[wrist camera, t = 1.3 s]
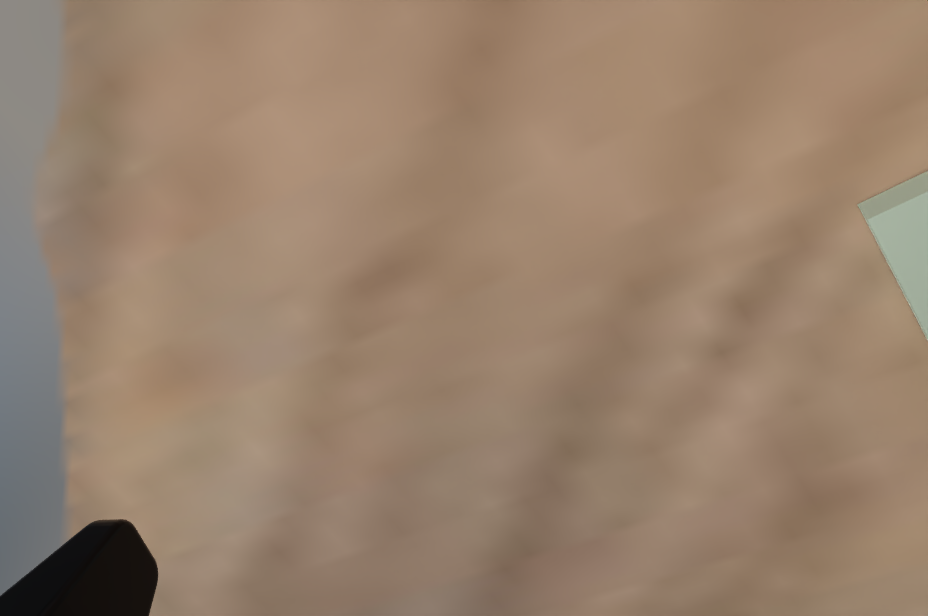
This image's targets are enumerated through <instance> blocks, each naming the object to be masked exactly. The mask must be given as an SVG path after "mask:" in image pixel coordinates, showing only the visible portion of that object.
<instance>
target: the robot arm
mask: <svg viewBox="0 0 928 616" xmlns="http://www.w3.org/2000/svg"><path fill="white" fill-rule="evenodd" d="M157 581H158V568H157V564H156V561H155V559H154V557H153V556H152V554H151V553H150V551H149V549H148V548H147V546H146V544H145V543H144V541H143V540H142V538H141V536H140V535H139V533H138V531H137V530H136V528H135V527H134V525H133V524H132V523H131V522H129V521H127V520H123V519H119V520H98V521H94V522H92V523H90V524H89V525H87V526H86V527H85V528H83V529H82V530H81V531H80V532H78V533H77V534H76V535H75V536H73V537H72V538H71V539H70V540H69V541H67V542H66V543H65V544H64V545H62V546H61V547H60V548H59V549H57V550H56V551H55V552H54V553H53V554H51V555H50V556H49V557H48V558H46V559H45V560H44V561H43V562H41V563H40V564H39V565H38V566H36V567H35V568H34V569H33V570H32V571H30V572H29V573H28V574H27V575H25V576H24V577H23V578H22V579H21V580H19V581H18V582H17V583H16V584H14V585H13V586H12V587H11V588H9V589H8V590H7V591H6V592H4V593H3V594H2V595H1V596H0V616H149V613H150V609H151V605H152V601H153V598H154V594H155V590H156V586H157Z"/></svg>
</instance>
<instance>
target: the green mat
mask: <svg viewBox="0 0 928 616" xmlns="http://www.w3.org/2000/svg"><path fill="white" fill-rule="evenodd" d="M857 205H858V207H859V209H860V210H861V212H862V214H863V216H864V218H865V220H866V222H867V224H868V226H869V228H870V230H871V232H872V234H873V236H874V238H875V240H876V242H877V243H878V245H879V247H880V249H881V251H882V253H883V255H884V257H885V259H886V261H887V263H888V265H889V267H890V269H891V271H892V273H893V275H894V277H895V278H896V280H897V282H898V284H899V286H900V288H901V290H902V292H903V294H904V296H905V298H906V300H907V302H908V304H909V306H910V308H911V310H912V311H913V313H914V315H915V317H916V319H917V321H918V323H919V325H920V327H921V329H922V331H923V333H924V335H925V337H926V339H927V341H928V171H926V172H924V173H922V174H920V175H918V176H916V177H914V178H912V179H909V180H907V181H905V182H903V183H901V184H899V185H897V186H895V187H893V188H891V189H888V190H886V191H884V192H882V193H880V194H878V195H876V196H874V197H872V198H870V199H868V200H865V201H863V202H861V203H859V204H857Z"/></svg>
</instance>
